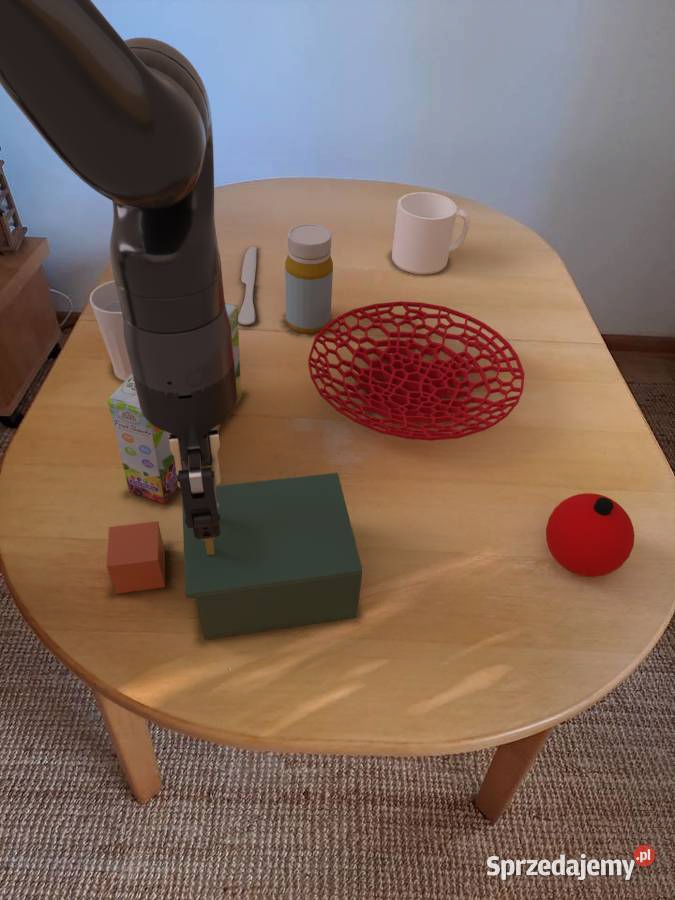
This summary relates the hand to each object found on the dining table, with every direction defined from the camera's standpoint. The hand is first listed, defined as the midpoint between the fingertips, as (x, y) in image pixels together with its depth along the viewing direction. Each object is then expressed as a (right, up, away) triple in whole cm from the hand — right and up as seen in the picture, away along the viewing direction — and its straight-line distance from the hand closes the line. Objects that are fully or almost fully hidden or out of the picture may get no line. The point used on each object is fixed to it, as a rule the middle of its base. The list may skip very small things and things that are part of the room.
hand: (205, 497), depth 61 cm
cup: (-17, +16, +35) cm, 42 cm away
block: (-9, -9, +11) cm, 17 cm away
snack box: (-7, +5, +25) cm, 26 cm away
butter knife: (-3, +32, +51) cm, 60 cm away
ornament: (+39, -8, +15) cm, 43 cm away
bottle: (+7, +24, +44) cm, 51 cm away
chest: (+5, -9, +11) cm, 15 cm away
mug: (+28, +38, +59) cm, 76 cm away
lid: (+5, -4, +5) cm, 9 cm away
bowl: (+23, +13, +34) cm, 43 cm away
